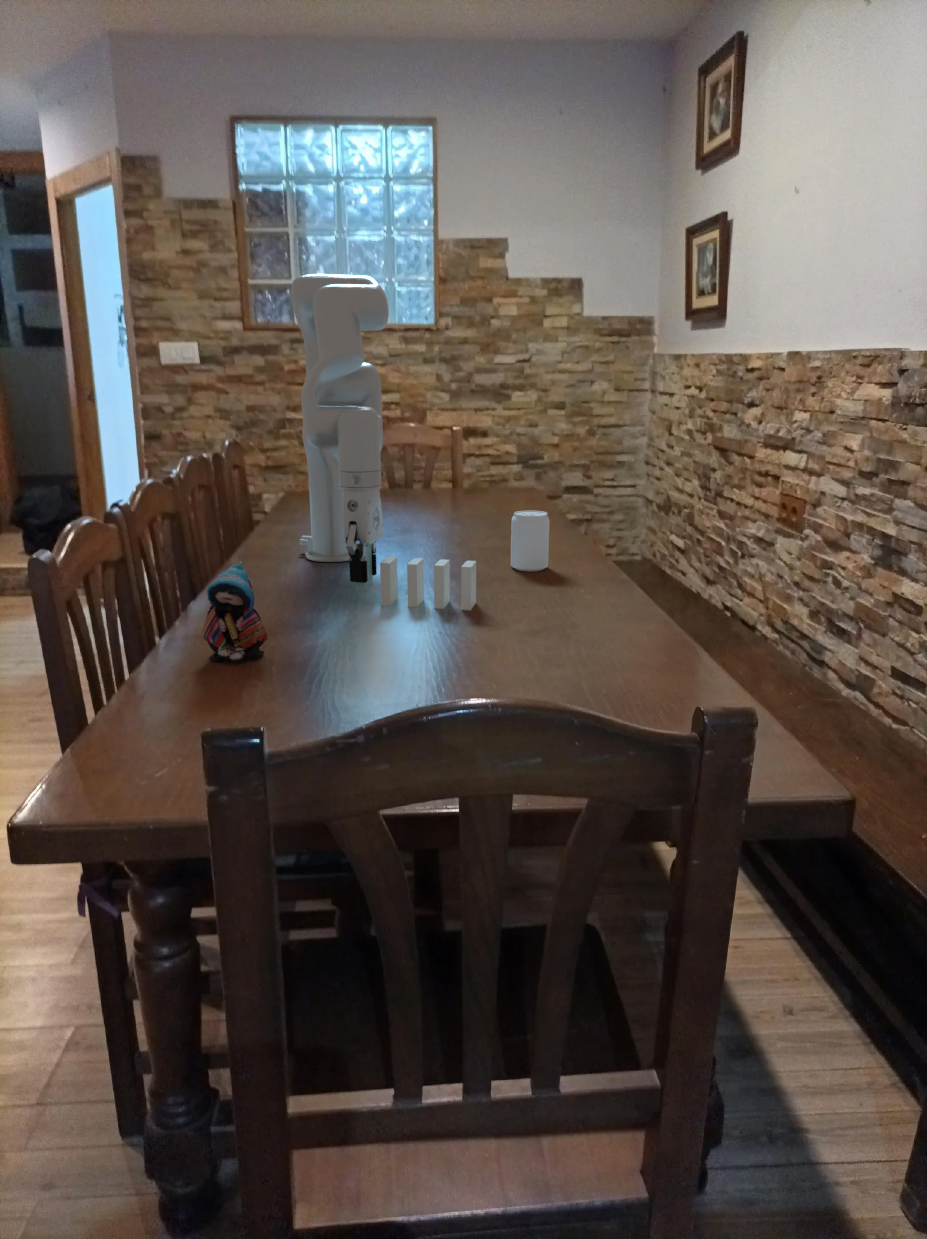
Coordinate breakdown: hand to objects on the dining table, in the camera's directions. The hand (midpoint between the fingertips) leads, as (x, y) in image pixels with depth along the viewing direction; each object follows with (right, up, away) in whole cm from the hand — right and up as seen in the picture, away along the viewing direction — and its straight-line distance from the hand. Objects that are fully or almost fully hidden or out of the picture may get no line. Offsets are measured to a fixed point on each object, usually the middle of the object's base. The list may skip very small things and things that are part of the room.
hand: (363, 577), depth 161 cm
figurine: (-16, -14, -31) cm, 37 cm away
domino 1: (0, -2, +1) cm, 2 cm away
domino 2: (+5, -5, +1) cm, 7 cm away
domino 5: (+19, -5, -2) cm, 20 cm away
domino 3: (+10, -5, 0) cm, 11 cm away
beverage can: (+33, +3, +27) cm, 42 cm away
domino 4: (+15, -5, -1) cm, 16 cm away
